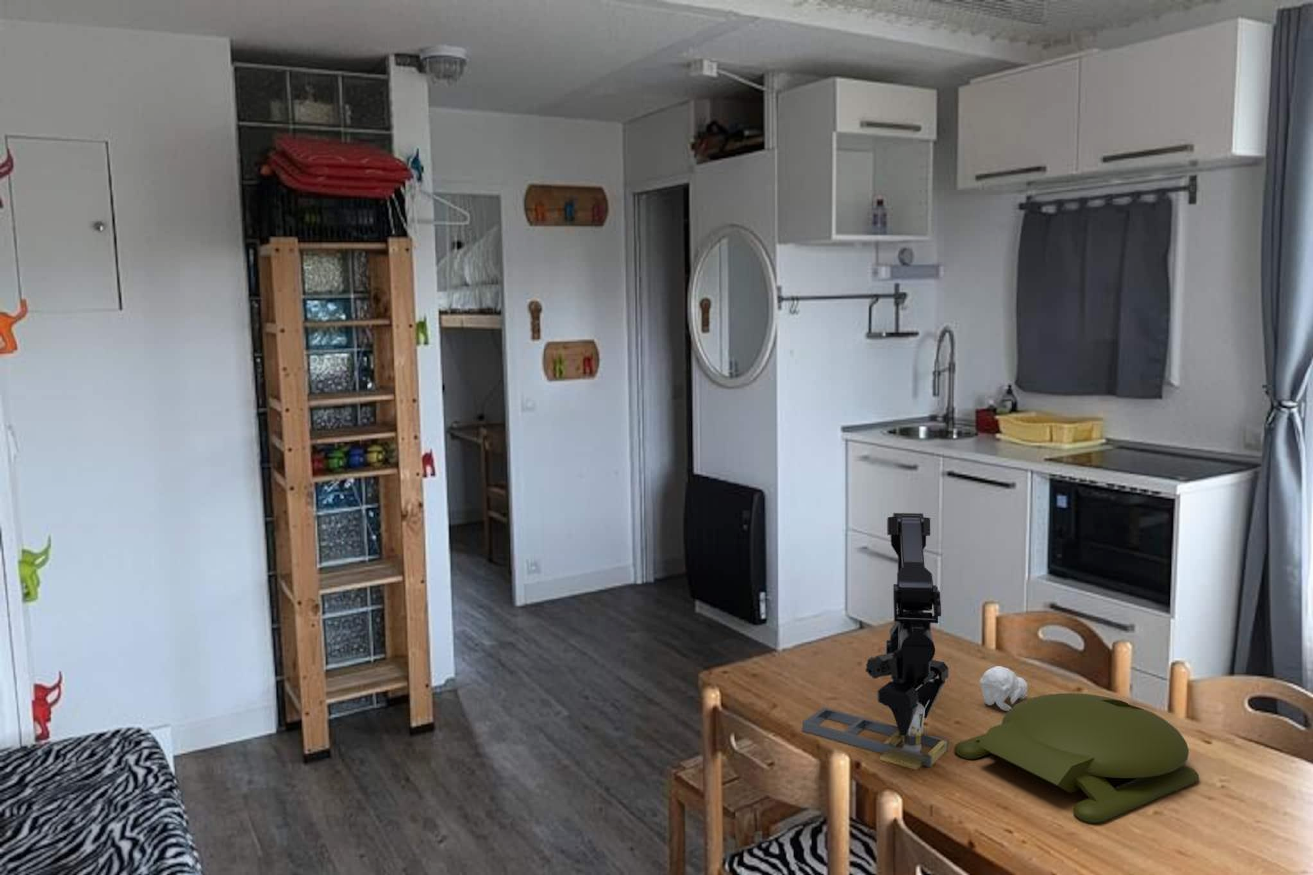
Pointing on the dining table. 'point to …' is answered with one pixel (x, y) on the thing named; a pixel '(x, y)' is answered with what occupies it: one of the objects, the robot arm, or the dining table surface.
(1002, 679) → the white bear figurine
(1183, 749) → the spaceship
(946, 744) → the rail
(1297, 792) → the dining table surface
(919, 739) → the milkshake
